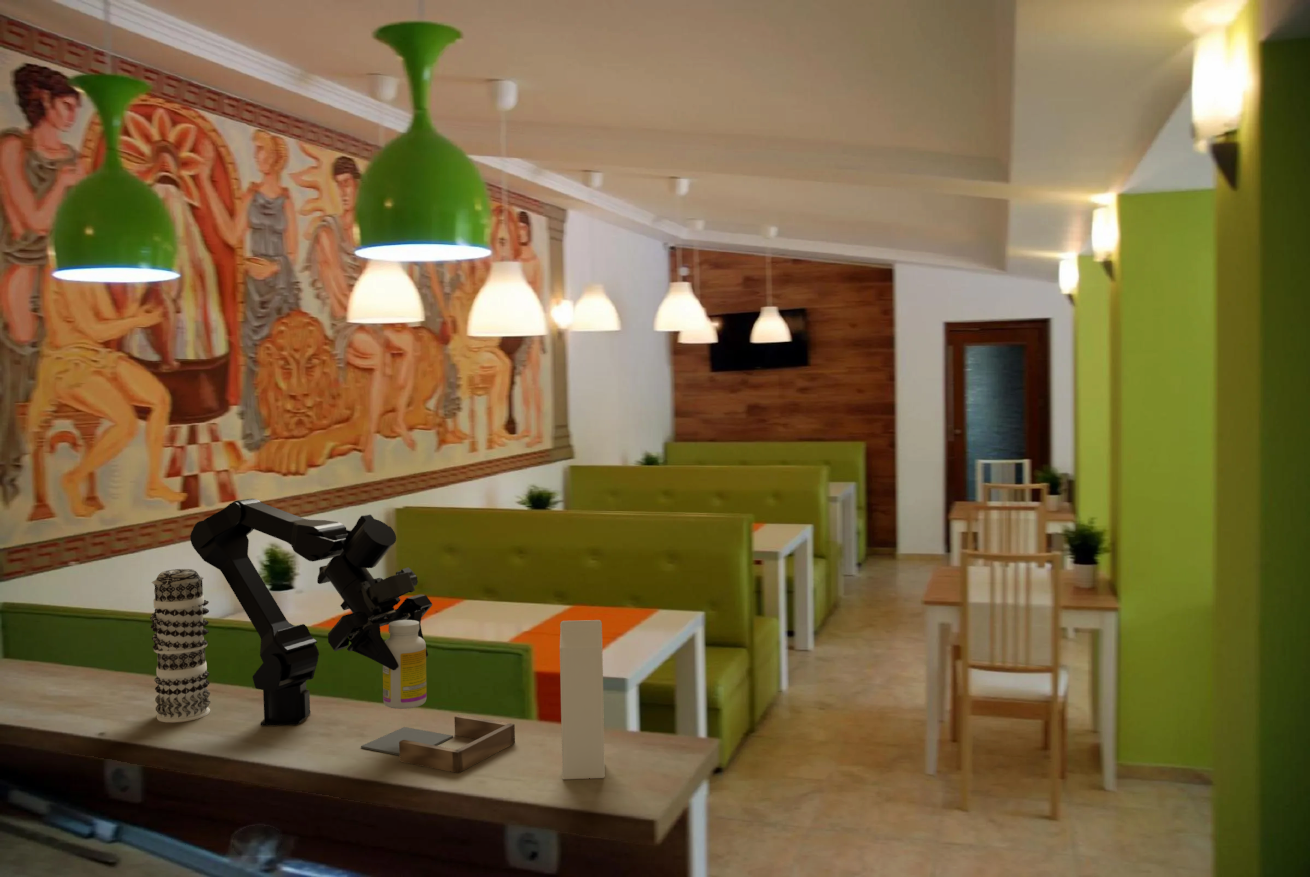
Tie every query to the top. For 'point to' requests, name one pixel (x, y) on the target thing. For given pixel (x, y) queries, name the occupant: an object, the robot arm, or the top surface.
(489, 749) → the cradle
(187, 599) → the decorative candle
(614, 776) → the top surface
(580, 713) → the beige tall block
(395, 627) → the supplement bottle
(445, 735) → the mat
